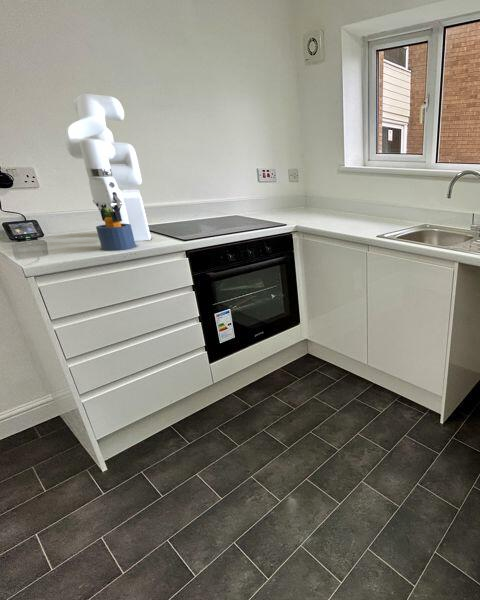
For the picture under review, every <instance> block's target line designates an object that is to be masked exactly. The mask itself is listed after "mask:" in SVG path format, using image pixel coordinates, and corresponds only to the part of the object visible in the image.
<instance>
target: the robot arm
mask: <svg viewBox="0 0 480 600" xmlns="http://www.w3.org/2000/svg"><path fill="white" fill-rule="evenodd" d="M72 104H73V107H74V110H75V113H76V115H77V119H76V120H74V121H73V122H71V123H70V124H69V125H68V126H67V127H66V129H65V131H64V135H65V146H66V150H67V152H68V154H69V155H70V156H71V157H72V158H75V159H77V160H83V163H84V167H85V170H86V174H87V177H88V184H89V187H90V188H89V189H90V194H91V197H92V203H93V204H95V206H96V207H97V208H98V211H99V212H100V216H101V220H102V221H103V222H105V221H104V219H105V218H106V217H109V216H108V215H106V214H104V213H107V212H106V211H105V210H104V208H107V210H108V209H111V211H112V212H111V216H112V220H113V222H120V223H121V224H130V223H129V219H128V215H127V211H126V207H125V203H124V199H123V190H121V189H120V188H126V187H127V188H132V187H133V188H135V187H140V186H141V185H142V183H143V180H142V179H143V178H142V173H141V169H140V165H139V160H138V156H137V153H136V149H135V147H134V146H133V145H132V144H130V143H129V142H123V141H115V140H114V135H113V132H112V131H111V129H109V128H108V127H107V122H106V121H115V122H122V121H123V120H124V119H125V110H124V107H123V105H122V103H121V102H120V100H119V99H118V98H116V97H115V96H111V95H104V94H95V93H80V94H79V95H78V96H77V97H76V98H74V99H73V101H72ZM108 211H109V210H108ZM107 214H108V213H107Z"/></svg>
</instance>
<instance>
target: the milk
mask: <svg viewBox="0 0 480 600" xmlns="http://www.w3.org/2000/svg"><path fill="white" fill-rule="evenodd" d="M122 192H123V199H124V203H125V207H126V211H127V215H128V219H129V223H130V225H131V228H132V232H133V236H134V240H135V242H141V241H142V242H144V241H151V239H152V236H151V232H150V228H149V223H148V219H147V214H146V211H145V206H144V203H143V202H144V201H143V199H142V195H141V192H140V190H139V189H122Z"/></svg>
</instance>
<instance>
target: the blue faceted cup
mask: <svg viewBox="0 0 480 600" xmlns="http://www.w3.org/2000/svg"><path fill="white" fill-rule="evenodd" d="M95 229H96V232H97V236H98V240H99V243H100V246H101V250H102V251H110V252H111V251H112V252H113V251H123V250H125V251H126V250H131V249H134V248H135V247H137V246H136V241H135V240H134V236H133V232H132V228H131V225H130V224H121V227H110V228H107V227H106V224H105V223H104V224H99V225H97V226H95Z"/></svg>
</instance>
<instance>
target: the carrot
mask: <svg viewBox="0 0 480 600" xmlns="http://www.w3.org/2000/svg"><path fill="white" fill-rule="evenodd" d="M104 210H105V211H106V212H107V213H108V214H107V213H104V214H106V215H108V216H109V217H106V218H105V219H104V221H103V222H104V225H105V224H106V227H107V228H110V227H121V223H120V222H113V220H112V216H111V212H112V211H111V209H108V210H109V211H108V210H107V208H104Z"/></svg>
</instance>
